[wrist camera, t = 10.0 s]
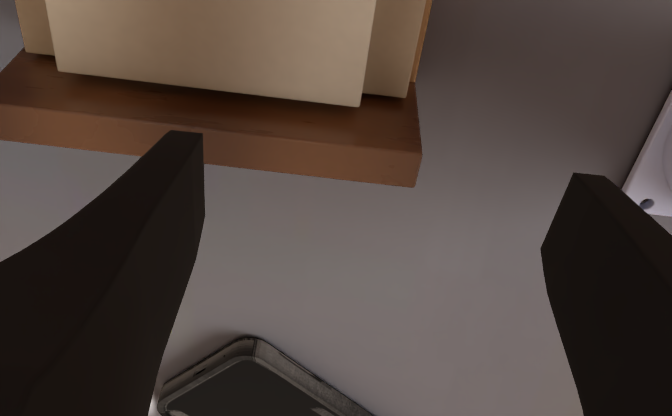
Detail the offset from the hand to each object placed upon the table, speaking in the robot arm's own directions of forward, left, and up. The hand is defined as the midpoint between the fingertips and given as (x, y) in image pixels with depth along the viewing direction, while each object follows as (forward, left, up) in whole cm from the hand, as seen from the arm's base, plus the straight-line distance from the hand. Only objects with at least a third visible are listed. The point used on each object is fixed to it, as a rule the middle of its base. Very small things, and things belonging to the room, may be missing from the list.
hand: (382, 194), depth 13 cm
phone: (+1, +25, -10) cm, 27 cm away
